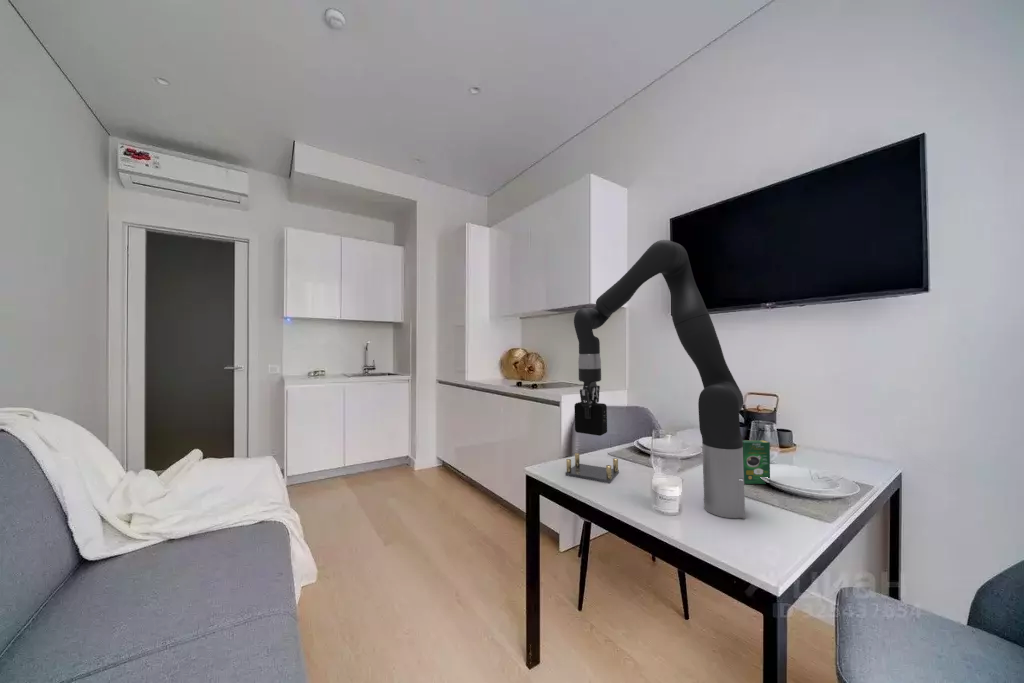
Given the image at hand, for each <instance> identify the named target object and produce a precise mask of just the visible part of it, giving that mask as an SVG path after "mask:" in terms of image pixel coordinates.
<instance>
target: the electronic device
mask: <svg viewBox="0 0 1024 683" xmlns="http://www.w3.org/2000/svg"><path fill="white" fill-rule="evenodd" d="M586 403H587V401H586ZM591 408H592V418H591V419H585V407H584V406H582V405H581V401H578V402H575V404H574V431H575V432H576V433H578V434H584V435H585V434H586V435H593V436H603V435H605V434H607V433H608V409H607V408H608V406H607V404H606V403H603V402H601V403H600V402H597V403H592V407H591Z"/></svg>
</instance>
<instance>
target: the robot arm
mask: <svg viewBox="0 0 1024 683" xmlns="http://www.w3.org/2000/svg"><path fill="white" fill-rule="evenodd" d="M691 266H692V265H691V263H690V259H689V255H688V252H687V250H686V248H685V247H684V245H681V244H680V243H678V242H675V241H672V240H669V239H659V240H657V241H655V242H653V243H652V244H651V245H650V246H649V247H648V248H647V249H646V251H645V252H644V253H643V254H642V255H641V256H640V258H639V259H638V260H637V261H635V263H634V264H633V265H632V266H631V267H630V269H628V271H627V272H625V274H624V275H623V276H622V277H621V278H620V279H619V280H617V281H616V282H615V283H614V284H613V285H612V286H611V287H609V288H608V289H607V290H605V291H604V292H603V293H602V294H601V295H599V297H598V298H596V300H595V306H594V307H593V308H585V307H584V308H579V309H578V310H576V312H575V314H574V317H573V325H574V330H575V335H576V338H577V340H578V362H577V363H578V381H579V382H583V384H582V389H579V396H580V402H581V405H582V406H584V407H585V419H591V418H592V408H591V407H592V403H600V389H601V385H598V384H597V382H601V381H602V360H601V347H600V344H601V341H600V339H599V337H597V336H595V335H594V331H593V330H597V329H599V328H600V327H602V326H603V325H605V323H606V322H607V321H608V319H610V318H611V316H612V314H614V313H616V312H617V311H618V310H619V309H621V308H622V307H623V306H624V305H625V304H627V303H628V302H629V301H630V300H631V299H632V297H633V296H634V295H635V293H636V292H637V291H638V289H640V288H641V286H643V284H645V282H647V281H649V280H650V279H651V278H653V277H656V276H657V275H659V274H661V275H662V277H663V278H664V281H665V283H666V285H667V287H668V291H669V293H670V300H671V319H672V324H673V326H674V329H675V331H676V332H675V333H676V335H677V337H678V340H679V342H680V343H681V346H682V347H683V349H684V351H685V352H686V354H687V355H688V357H689V358H690V359H691V360H692V363H693V364H694V365H695V366H696V368H697V371H698V373H699V376H700V379H701V382H702V386H703V389H702V390H701V392H700V393H699V396H698V403H697V404H698V409H697V410H698V422H699V432H700V436H701V439H702V441H701V442H702V444H701V445H702V449H701V450H702V480H703V481H702V482H703V483H702V484H703V507H704V508H703V509H705V510H706V512H708V513H710V514H712V515H714V516H717V517H721V518H727V519H746V504H745V502H746V498H745V484H744V471H743V440H744V438H743V436H742V433H741V424H740V422H741V421H740V411H741V410H742V409H743V407H744V396H743V393H742V391H741V389H740V387H739V386H738V384H737V382H736V379H735V378H734V376H733V374H732V372H731V370H730V369H729V368H730V367H729V366H728V364H727V362H726V359H725V355H724V353H723V352H724V351H723V348H722V347H721V342H720V340H719V337H718V334H717V331H716V328H715V326H714V323H713V320H712V318H711V315H710V313H709V311H708V309H707V307H706V304H705V302H704V299H703V296H702V295H701V293H700V291H699V290H700V289H699V288H698V286H697V283H696V280H695V278H694V274H693V270H692V267H691ZM586 402H587V403H586Z"/></svg>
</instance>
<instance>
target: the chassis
mask: <svg viewBox="0 0 1024 683" xmlns="http://www.w3.org/2000/svg"><path fill="white" fill-rule="evenodd" d="M580 459H581V458H580V453H579V452H575V453H574V465H573V466H572V459H571V458H567V459H566V461H565V462H566V466H565V467H566V471H565V477H570V478H571V477H573V478H576V479H577V478H578V479H583V480H588V481H594V482H599V483H605V484H611V483H612V482H613V480H614V479H615V478H616V477H617V476H618V474H619V473H620V470H619V458H615V457H614V458H612V462H613V463H612V465H610V464H607V465H606V467H605V466H604V467H603V466H599V465H598V466H597V465H591V464H584V463H581V462H580ZM612 466H613V467H612Z"/></svg>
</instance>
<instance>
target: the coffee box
mask: <svg viewBox="0 0 1024 683" xmlns="http://www.w3.org/2000/svg"><path fill="white" fill-rule="evenodd" d="M770 447H771V444H770V442H769V441H767V440H761V439H759V440H757V439H756V440H751V439H750V440H748V439H743V471H744V485H767V484H766V483H765V482H764V481H763V480H762V479H761V478H760V477H768V478H770V479H771V448H770Z"/></svg>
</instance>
